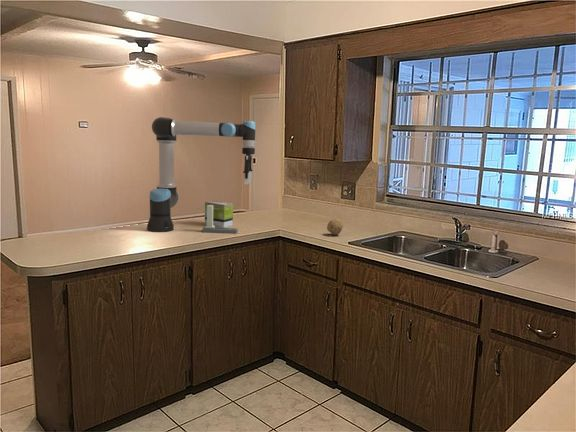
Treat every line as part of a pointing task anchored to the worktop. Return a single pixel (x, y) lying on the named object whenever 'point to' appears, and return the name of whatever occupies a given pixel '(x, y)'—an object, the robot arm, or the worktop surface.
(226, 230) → the fader console
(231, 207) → the tea box
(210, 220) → the fader tab
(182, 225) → the worktop surface
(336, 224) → the natural sponge
